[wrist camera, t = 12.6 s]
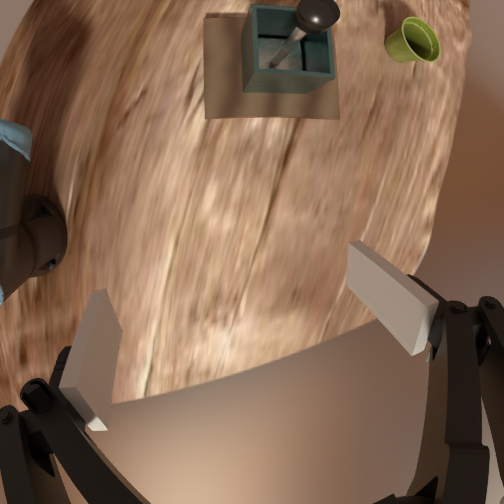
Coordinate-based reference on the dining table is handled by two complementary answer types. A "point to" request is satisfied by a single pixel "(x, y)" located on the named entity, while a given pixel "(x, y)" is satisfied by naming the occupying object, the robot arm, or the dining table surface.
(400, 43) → the plant pot
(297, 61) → the plunger
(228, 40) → the base plate
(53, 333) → the dining table surface
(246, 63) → the box
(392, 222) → the dining table surface
